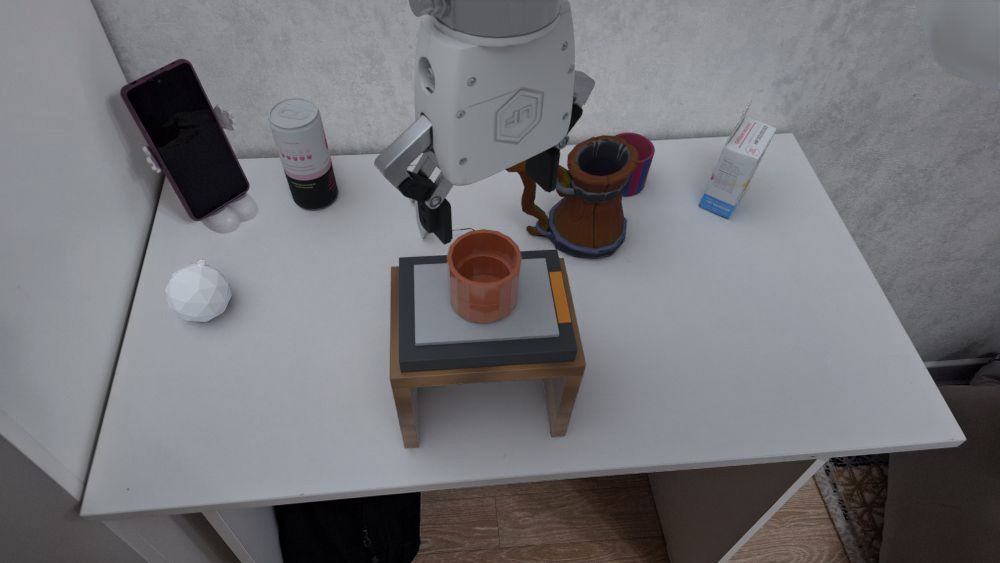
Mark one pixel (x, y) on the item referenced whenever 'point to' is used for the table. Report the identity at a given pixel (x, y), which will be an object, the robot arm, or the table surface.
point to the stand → (484, 375)
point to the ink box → (736, 164)
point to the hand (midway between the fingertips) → (490, 205)
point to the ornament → (198, 292)
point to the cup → (645, 160)
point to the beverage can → (303, 152)
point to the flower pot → (483, 275)
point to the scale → (466, 344)
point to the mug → (585, 198)
